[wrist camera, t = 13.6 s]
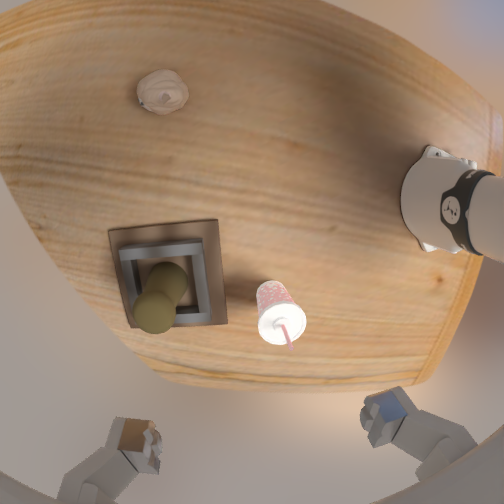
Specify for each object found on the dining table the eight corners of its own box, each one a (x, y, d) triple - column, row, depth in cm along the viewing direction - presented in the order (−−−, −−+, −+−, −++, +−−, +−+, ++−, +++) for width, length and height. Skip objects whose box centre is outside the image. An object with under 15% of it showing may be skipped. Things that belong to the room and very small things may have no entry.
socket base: (218, 219, 37) (217, 224, 34) (227, 320, 42) (228, 332, 39) (111, 230, 36) (101, 235, 33) (132, 325, 41) (126, 336, 38)
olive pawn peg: (161, 305, 39) (144, 348, 29) (141, 271, 37) (115, 307, 27) (195, 290, 39) (187, 331, 29) (175, 254, 37) (158, 286, 27)
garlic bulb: (146, 123, 32) (127, 112, 25) (143, 83, 31) (125, 64, 23) (193, 113, 33) (184, 98, 25) (188, 72, 31) (180, 50, 23)
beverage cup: (260, 270, 40) (278, 318, 27) (297, 283, 41) (328, 333, 28) (245, 304, 42) (254, 363, 28) (280, 316, 43) (302, 373, 30)
